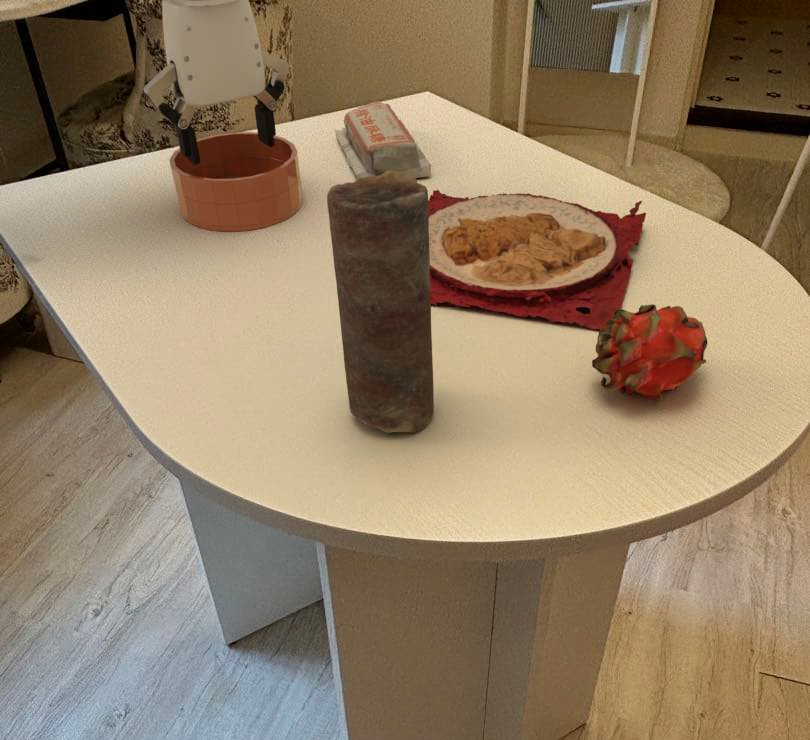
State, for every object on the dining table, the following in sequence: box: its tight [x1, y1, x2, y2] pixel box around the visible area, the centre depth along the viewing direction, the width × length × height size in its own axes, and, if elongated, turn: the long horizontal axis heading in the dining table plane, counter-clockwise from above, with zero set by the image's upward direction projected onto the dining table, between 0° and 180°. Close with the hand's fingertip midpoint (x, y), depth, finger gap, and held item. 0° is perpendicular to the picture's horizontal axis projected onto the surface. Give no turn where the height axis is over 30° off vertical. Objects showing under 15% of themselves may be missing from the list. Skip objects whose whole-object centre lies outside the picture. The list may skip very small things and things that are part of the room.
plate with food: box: [428, 189, 647, 331], centre depth 87 cm, size 24×26×4 cm
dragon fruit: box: [591, 303, 708, 404], centre depth 69 cm, size 8×8×12 cm
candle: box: [326, 170, 435, 434], centre depth 63 cm, size 8×7×20 cm
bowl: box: [169, 131, 303, 232], centre depth 98 cm, size 15×15×6 cm
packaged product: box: [334, 101, 432, 180], centre depth 108 cm, size 18×5×10 cm
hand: (230, 151), depth 96 cm, fingers open, 9 cm apart
